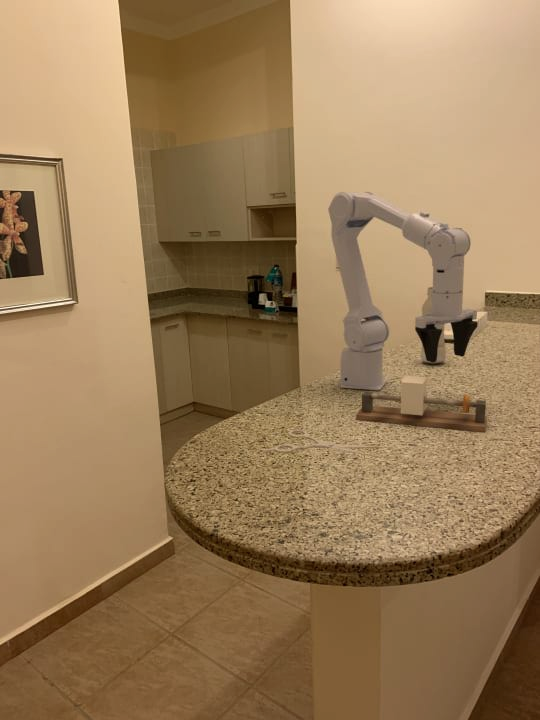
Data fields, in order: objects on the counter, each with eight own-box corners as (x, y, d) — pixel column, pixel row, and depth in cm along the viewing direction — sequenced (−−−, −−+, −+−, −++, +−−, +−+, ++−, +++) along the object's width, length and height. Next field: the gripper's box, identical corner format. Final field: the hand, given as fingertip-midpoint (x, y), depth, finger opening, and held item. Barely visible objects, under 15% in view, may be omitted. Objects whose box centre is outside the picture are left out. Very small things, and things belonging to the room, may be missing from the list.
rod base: (356, 419, 106) (355, 392, 105) (363, 409, 111) (363, 383, 110) (484, 432, 96) (486, 402, 95) (486, 420, 102) (487, 392, 100)
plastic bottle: (419, 365, 142) (420, 289, 137) (422, 359, 148) (423, 286, 143) (444, 366, 140) (446, 289, 135) (446, 360, 146) (448, 286, 141)
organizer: (487, 312, 189) (465, 330, 161) (487, 325, 191) (464, 346, 162) (449, 310, 196) (421, 328, 168) (449, 323, 197) (420, 343, 169)
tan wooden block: (400, 413, 103) (401, 382, 101) (405, 406, 107) (405, 375, 105) (422, 415, 101) (423, 383, 100) (425, 407, 105) (426, 377, 104)
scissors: (284, 428, 103) (390, 438, 95) (284, 432, 103) (390, 442, 95) (262, 450, 93) (377, 463, 85) (262, 454, 93) (377, 468, 86)
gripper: (434, 297, 100) (432, 368, 103) (490, 289, 106) (486, 356, 110) (408, 293, 106) (407, 360, 110) (463, 286, 112) (460, 350, 116)
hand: (445, 358), depth 110 cm, fingers open, 7 cm apart
